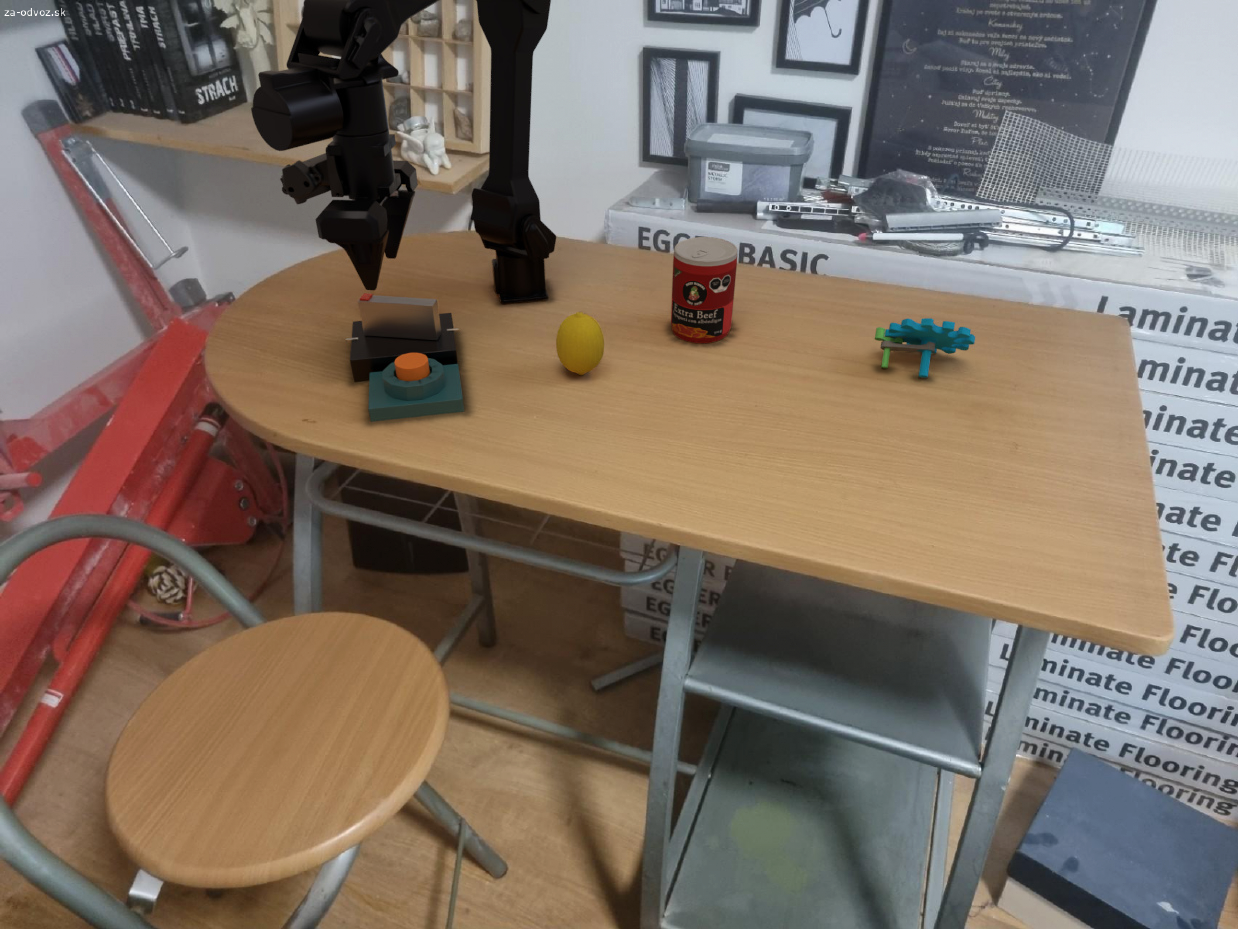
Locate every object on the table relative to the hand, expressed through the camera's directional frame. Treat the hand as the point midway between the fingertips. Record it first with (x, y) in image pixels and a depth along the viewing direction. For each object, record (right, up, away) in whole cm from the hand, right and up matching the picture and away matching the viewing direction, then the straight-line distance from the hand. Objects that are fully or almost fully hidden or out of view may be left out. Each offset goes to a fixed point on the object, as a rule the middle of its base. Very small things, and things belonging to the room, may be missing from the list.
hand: (381, 273), depth 98 cm
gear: (+63, -10, +6) cm, 64 cm away
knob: (+1, -6, +6) cm, 8 cm away
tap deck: (+1, -9, +7) cm, 11 cm away
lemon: (+22, -11, +4) cm, 25 cm away
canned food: (+37, -5, +14) cm, 40 cm away
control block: (+4, -14, 0) cm, 15 cm away
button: (+4, -12, -2) cm, 12 cm away
